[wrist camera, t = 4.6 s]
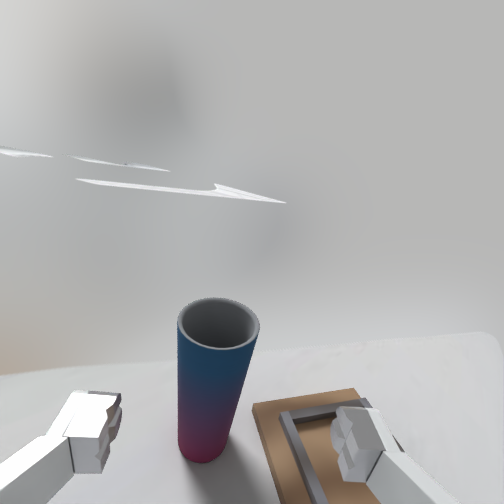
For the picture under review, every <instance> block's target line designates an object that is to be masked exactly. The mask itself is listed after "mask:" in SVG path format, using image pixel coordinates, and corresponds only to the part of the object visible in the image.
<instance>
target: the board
mask: <svg viewBox="0 0 504 504" xmlns="http://www.w3.org/2000/svg"><path fill="white" fill-rule="evenodd" d="M340 406H345V407H363V408H373V407H372V406H371V405H370V403H369V402H368V401H367V399H366V398H360V396H359V395H358V393H357V392H356V390H355V389H354V388H350V389H343V390H337V391H331V392H324V393H318V394H311V395H305V396H299V397H292V398H286V399H279V400H273V401H267V402H260V403H254V404H253V408H252V413H253V416H254V419H255V423H256V426H257V429H258V432H259V435H260V439H261V442H262V445H263V448H264V451H265V455H266V458H267V461H268V464H269V467H270V471H271V474H272V477H273V480H274V483H275V487H276V490H277V493H278V496H279V499H280V502H281V504H381V503H380V502H379V500H378V499H377V498H376V497H375V495H374V494H373V493H372V491H371V490H370V489H369V487H368V486H367V485H366V483H363V482H348V481H343V478H342V474H341V471H340V468H339V465H338V462H337V460H338V457H339V454H338V453H337V451H336V450H335V449H334V448H333V445H332V441H331V436H330V427H331V424H332V421H333V420H334V419H335V418H337V415H336V410H337V408H338V407H340ZM392 436H393V435H392ZM393 438H394V436H393ZM394 439H395V438H394ZM395 441H396V443H397V445H398V447H399V449H400V451H401V452H405V451H404V450H403V449H402V447H401V446H400V445H399V443H398V442H397V440H396V439H395Z"/></svg>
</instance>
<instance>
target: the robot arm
mask: <svg viewBox="0 0 504 504" xmlns="http://www.w3.org/2000/svg"><path fill="white" fill-rule="evenodd" d="M120 402H121V393H110V392H98V391H86V390H75V391H74V392H73V393H72V394H71V395H70V396H69V398H68V399H67V401H66V403H65V404H64V406H63V407H62V409H61V411H60V412H59V414H58V415H57V417H56V419H55V420H54V422H53V423H52V425H51V427H50V428H49V430H48V431H47V433H46V435H45V436H39V437H38V438H36V439H35V440H34V441H32V442H31V443H29V444H28V445H27V446H25V447H24V448H22V449H21V450H20V451H18V452H17V453H16V454H14V455H13V456H11V457H10V458H9V459H7V460H6V461H5V462H3V463H2V464H0V504H46V503H47V502H48V501H49V500H50V499H51V498H52V497H53V496H54V495H55V494H56V493H57V492H58V491H59V490H60V489H61V488H62V487H63V486H64V485H65V484H66V483H67V482H68V481H69V480H70V479H71V478H72V477H73V476H74V474H102V471H103V469H104V466H105V464H106V461H107V459H108V456H109V454H110V443H111V442H112V441H113V440H114V439H115V438H116V436H117V433H118V430H119V426H120V423H121V417H122V408H121V407H120V406H119V404H120ZM336 415H337V418H335V419H334V420H333V421H332V424H331V427H330V436H331V441H332V445H333V448H334V449H335V450H336V451H337V453H338V454H339V457H338V460H337V462H338V465H339V468H340V471H341V474H342V478H343V481H348V482H363V483H366V485H367V486H368V487H369V489H370V490H371V491H372V493H373V494H374V495H375V497H376V498H377V499H378V500H379V502H380V503H381V504H461V503H460V502H458V501H457V500H456V499H455V498H454V497H453V496H452V495H451V494H450V493H449V492H448V491H446V490H445V489H444V488H443V487H442V486H441V485H440V484H439V483H438V482H437V481H436V480H434V479H433V478H432V477H431V476H430V475H429V474H428V473H427V472H426V471H425V470H424V469H422V468H421V467H420V466H419V465H418V464H417V463H416V462H415V461H414V460H413V459H412V458H410V457H409V456H408V455H407V454H406V453H405V452H401V451H400V449H399V447H398V445H397V443H396V441H395V439H394V438H393V436H392V434H391V432H390V430H389V428H388V426H387V424H386V422H385V420H384V418H383V416H382V414H381V412H380V411H379V410H378V409H377V408H363V407H345V406H340V407H338V408H337V410H336Z"/></svg>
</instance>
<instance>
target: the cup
mask: <svg viewBox="0 0 504 504" xmlns="http://www.w3.org/2000/svg"><path fill="white" fill-rule="evenodd" d="M177 325H178V326H177V327H178V328H177V330H178V331H177V333H178V334H177V335H178V336H177V337H178V338H177V339H178V445H179V448H180V451H181V452H182V454H183V455H184V456H185V457H186V458H187V459H189V460H190V461H193V462H197V463H206V462H209V461H212V460H214V459H215V458H217V457H218V456H219V455H220V454H221V453H222V451H223V449H224V448H225V445H226V442H227V438H228V435H229V431H230V428H231V425H232V421H233V418H234V415H235V411H236V408H237V404H238V401H239V398H240V394H241V391H242V387H243V384H244V381H245V377H246V374H247V370H248V367H249V364H250V360H251V357H252V354H253V350H254V347H255V343H256V339H257V337H258V333H259V330H260V324H259V321H258V318H257V317H256V315H255V314H254V313H253V312H252V310H250V309H249V308H248V307H246V306H245V305H243V304H241V303H239V302H236V301H233V300H229V299H225V298H205V299H200V300H197V301H194V302H192V303H190V304H188V305H187V306H185V307H184V308H183V309H182V311H181V312H180V314H179V316H178V321H177Z"/></svg>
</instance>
